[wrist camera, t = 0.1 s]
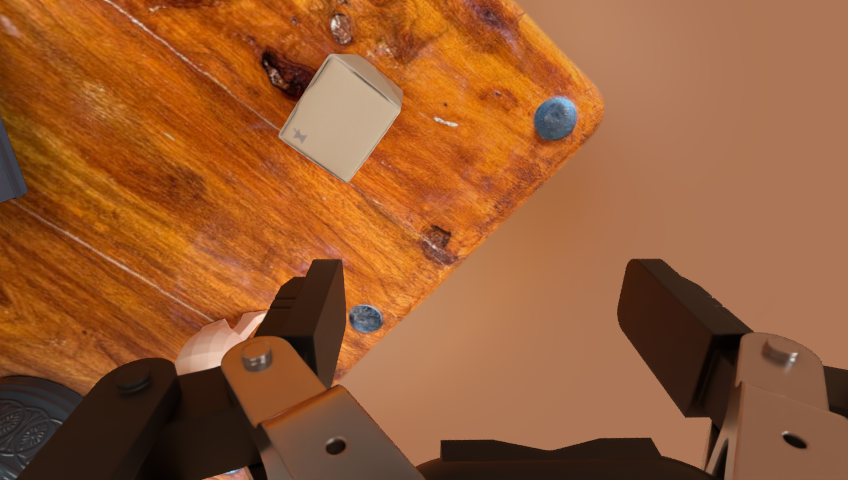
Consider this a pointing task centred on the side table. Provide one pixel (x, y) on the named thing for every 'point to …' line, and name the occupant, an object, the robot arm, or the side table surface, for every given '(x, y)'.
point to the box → (343, 114)
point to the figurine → (215, 343)
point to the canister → (29, 419)
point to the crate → (9, 170)
